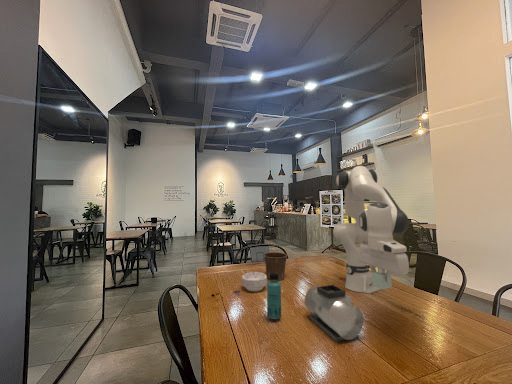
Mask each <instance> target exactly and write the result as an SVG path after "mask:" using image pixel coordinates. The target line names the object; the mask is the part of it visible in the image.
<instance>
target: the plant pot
mask: <svg viewBox="0 0 512 384" xmlns="http://www.w3.org/2000/svg"><path fill="white" fill-rule="evenodd" d="M263 256H264V262H265V270H266V271H265V273H266V274H265V275H266V276H267V280H269V281H270V280H271V279H269V277H270V273H277V274H278V277H279V279H277V281H279V282H280V281H283V280H284V279H285V275H286V274H285V271H286V262H287V257H288V254H287V253H284V252H277V251H274V252H273V251H272V252H266V253H263Z"/></svg>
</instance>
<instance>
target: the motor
mask: <svg viewBox="0 0 512 384" xmlns="http://www.w3.org/2000/svg"><path fill="white" fill-rule="evenodd" d="M304 303H305V304H304V305H305V307H306V309H307V310H308V311H309V312H310V313H312V314H309V319H310V320H311V321H312V322H313V323H314V324H316V326H318V327H319V328H320V329H321V330H322V331H324V332H325V334H327V335H328V336H329V337H330V338H331V339H332V340H334V342H336V343H339V342H342V341H345V340H347V341H348V340H349V341H350V340H354V339H355V338H357V337H359V334H360V333H361V332H362V329H363V326H364V316H363V313H362V311H361V309H360V308H358V306H356V305H354V304H352V296H351V295H349V294H346V290H345V289H343V288H341V287H339V286H336V285H335V284H328V285H327V284H325V285H322V286H321V285H314V286H312V287H310V288H309V289H308V290H307V292H306V294H305V297H304Z"/></svg>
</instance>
